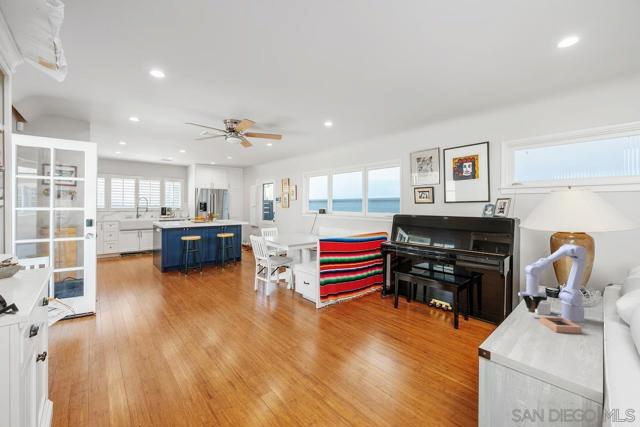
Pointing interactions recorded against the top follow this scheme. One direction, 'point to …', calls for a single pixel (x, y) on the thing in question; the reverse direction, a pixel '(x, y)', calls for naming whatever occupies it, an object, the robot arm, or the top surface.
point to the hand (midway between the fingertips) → (531, 308)
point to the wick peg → (532, 306)
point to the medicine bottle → (543, 307)
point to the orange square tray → (560, 325)
